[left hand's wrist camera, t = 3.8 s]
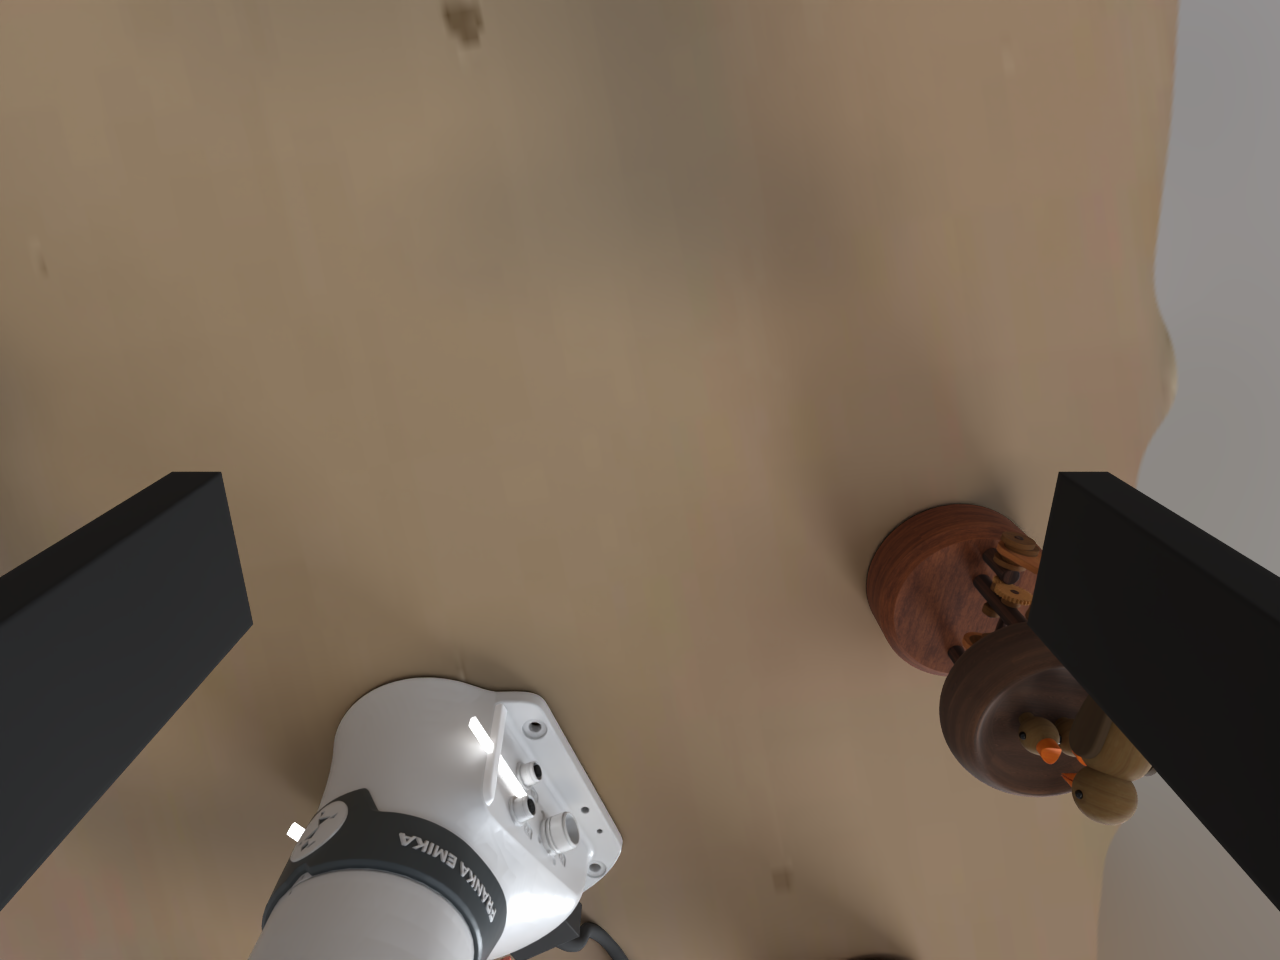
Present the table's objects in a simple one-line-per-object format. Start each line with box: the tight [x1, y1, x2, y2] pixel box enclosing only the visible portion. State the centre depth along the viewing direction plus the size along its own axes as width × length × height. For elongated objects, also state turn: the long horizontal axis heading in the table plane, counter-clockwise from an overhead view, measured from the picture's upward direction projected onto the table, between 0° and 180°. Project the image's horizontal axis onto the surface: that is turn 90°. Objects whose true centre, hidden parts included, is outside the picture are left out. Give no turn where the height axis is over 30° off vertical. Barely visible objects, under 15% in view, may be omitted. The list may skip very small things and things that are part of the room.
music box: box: [867, 504, 1157, 825], centre depth 40 cm, size 15×11×20 cm
